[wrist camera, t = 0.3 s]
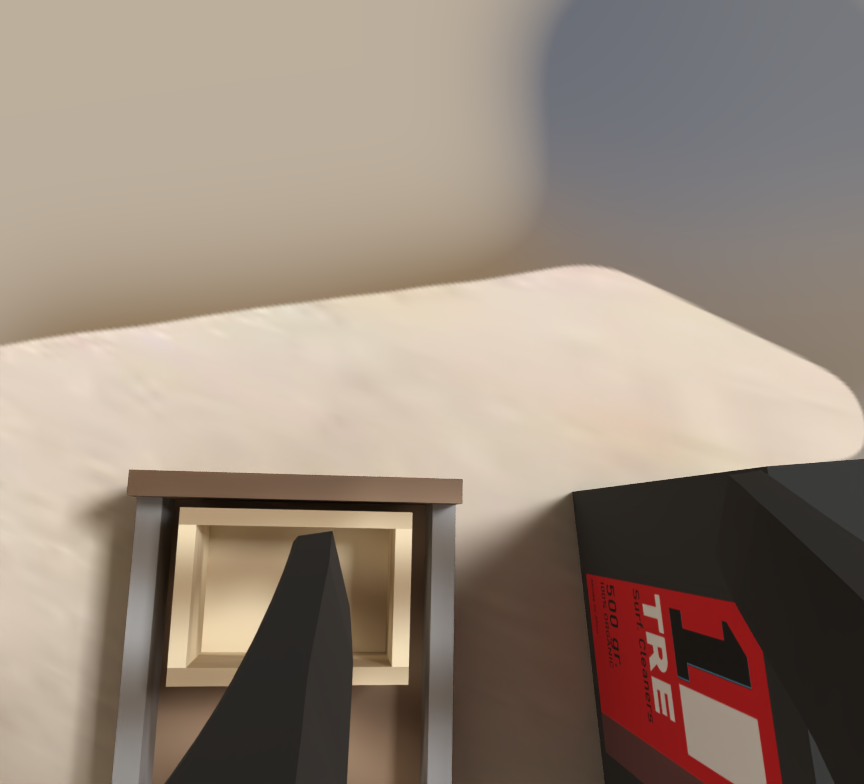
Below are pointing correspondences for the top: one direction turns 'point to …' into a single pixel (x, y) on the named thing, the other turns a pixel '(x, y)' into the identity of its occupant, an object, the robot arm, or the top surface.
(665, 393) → the top surface
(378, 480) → the crate bay
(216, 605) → the crate
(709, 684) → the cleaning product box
